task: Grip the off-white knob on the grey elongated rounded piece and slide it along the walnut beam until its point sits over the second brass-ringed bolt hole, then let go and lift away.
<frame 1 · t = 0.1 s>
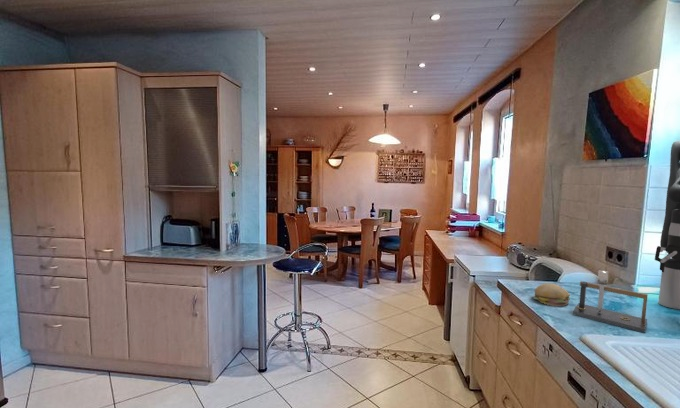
hand: (677, 274, 137), 17 cm above the countertop, tool pointing down, fingers open, 8 cm apart
grey elongated rounded piece: (601, 291, 136), point 10 cm above the countertop, slide at 6.0 cm
burger: (550, 301, 152), on the countertop
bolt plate: (608, 318, 134), on the countertop
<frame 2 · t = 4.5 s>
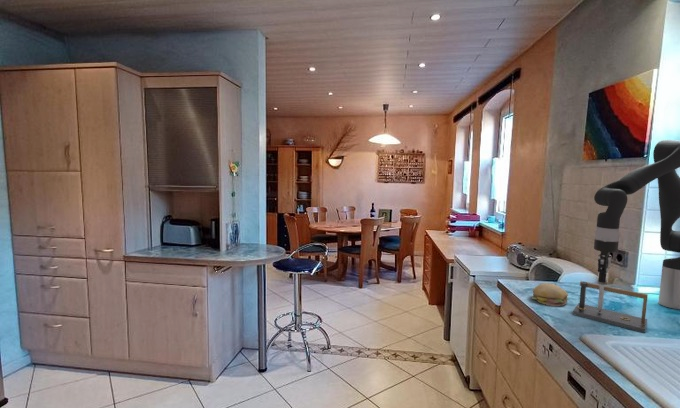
hand: (602, 281, 135), 15 cm above the countertop, tool pointing down, fingers closed on grey elongated rounded piece, 3 cm apart
grey elongated rounded piece: (601, 291, 136), point 10 cm above the countertop, slide at 6.0 cm, touching gripper
everything else where it was.
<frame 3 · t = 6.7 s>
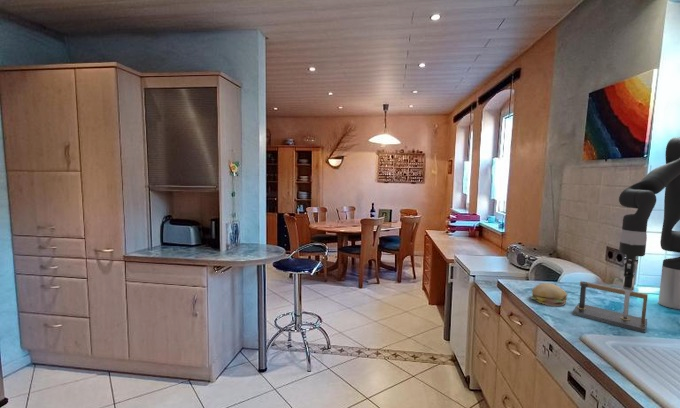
hand: (628, 285, 129), 15 cm above the countertop, tool pointing down, fingers closed on grey elongated rounded piece, 3 cm apart
grey elongated rounded piece: (627, 296, 130), point 10 cm above the countertop, slide at 13.9 cm, touching gripper
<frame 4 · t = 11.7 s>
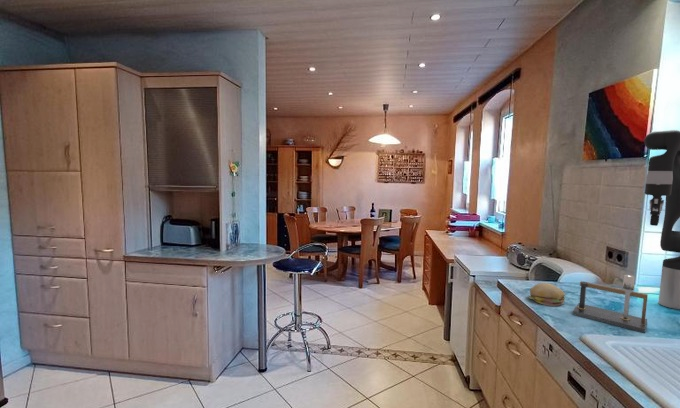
hand: (654, 224, 132), 38 cm above the countertop, tool pointing down, fingers open, 8 cm apart
grey elongated rounded piece: (627, 296, 130), point 10 cm above the countertop, slide at 14.0 cm
at the end: grey elongated rounded piece slide at 14.0 cm; the gripper is holding nothing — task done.
